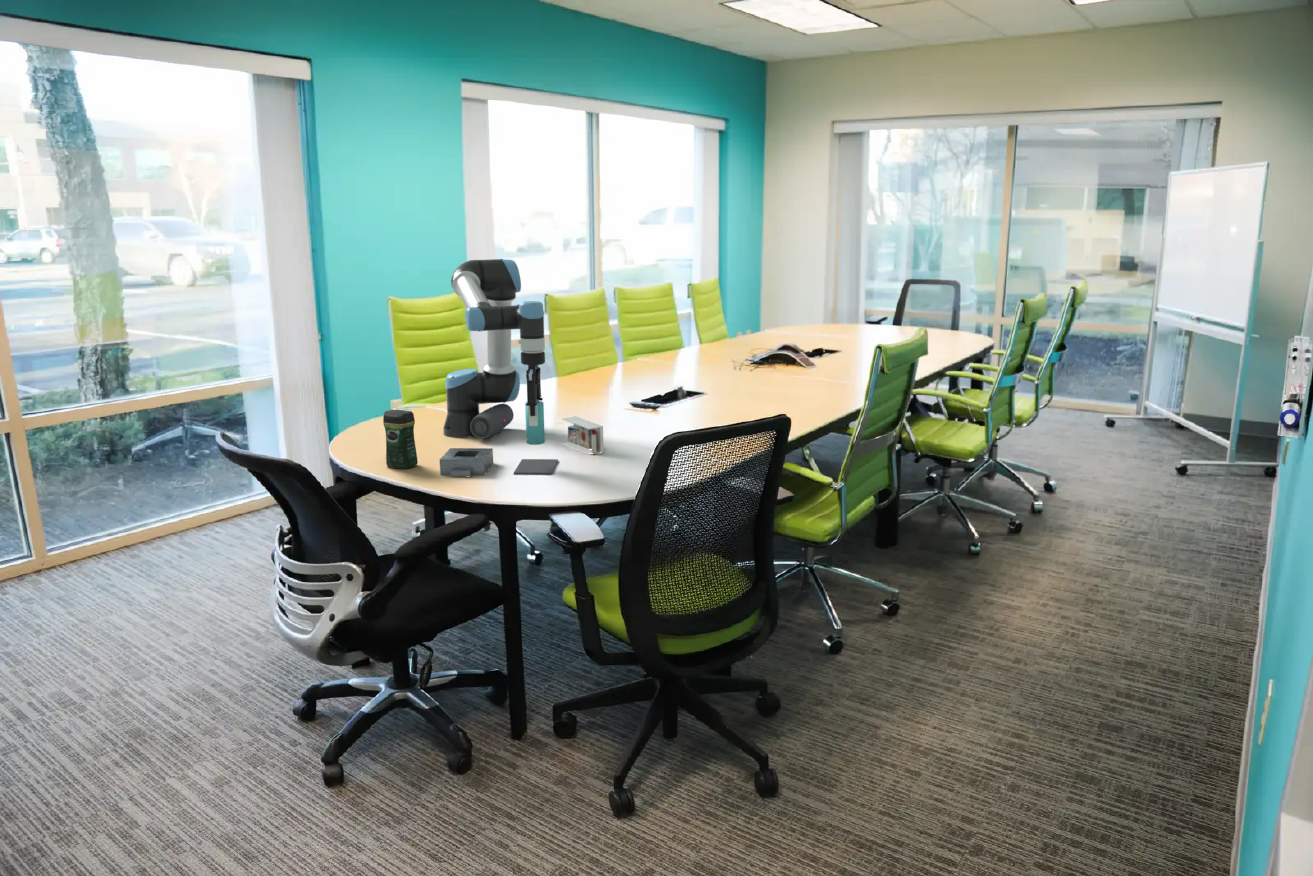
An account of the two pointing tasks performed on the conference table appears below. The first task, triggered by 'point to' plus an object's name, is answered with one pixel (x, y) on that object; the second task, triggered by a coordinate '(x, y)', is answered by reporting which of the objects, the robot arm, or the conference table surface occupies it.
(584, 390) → the conference table surface
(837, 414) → the conference table surface
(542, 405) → the teal cylinder
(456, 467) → the housing
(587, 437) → the cigarette display
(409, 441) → the coffee jar
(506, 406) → the bluetooth speaker
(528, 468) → the mat
